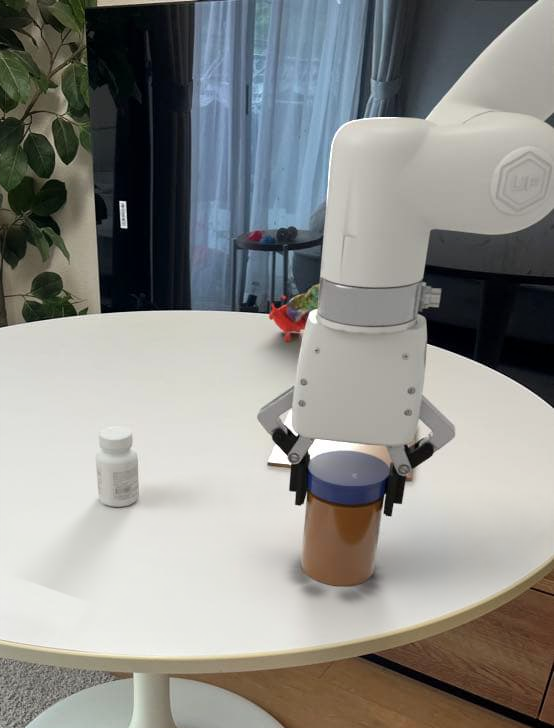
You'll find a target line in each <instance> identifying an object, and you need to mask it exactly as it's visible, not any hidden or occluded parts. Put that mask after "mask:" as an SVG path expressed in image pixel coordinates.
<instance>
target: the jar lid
mask: <svg viewBox="0 0 554 728" xmlns="http://www.w3.org/2000/svg"><path fill="white" fill-rule="evenodd" d="M389 470H390V469H389V467H388V465H387V464H386V463H385V462H384V461H383V460H381V459H379V458H377V457H375V456H373V455H370V454H366V453H362V452H357V451H347V450H339V451H329V452H324V453H321V454H318V455H316V456H314V457H313V458H311V459H310V460H309V463H308V466H307V473H306V484H305V485H306V486H307V488H308V489H309V490H310V491H311V492H312V493H313V494H314V495H316V496H318V497H320V498H322V499H325V500H328V501H331V502H336V503H342V504H363V503H369V502H373V501H376V500H378V499H380V498H381V497H383V496H384V497H385V496H386V492H387V485H388V478H389Z"/></svg>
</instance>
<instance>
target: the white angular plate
mask: <svg viewBox="0 0 554 728" xmlns="http://www.w3.org/2000/svg"><path fill="white" fill-rule="evenodd" d="M291 416H292V409H289V410H288V413H287V416H286V418H285V420H284V422H283V424H285V425H286V426H287V427H288V428H289V429H290V430H291V431H292V432H293V433H294V434H295V435H296V436H297V435H298V434H297V433H296V432H294V431H293V429H292V423H291ZM415 443H416V436H415V437H414V439H413V441H412V442H410V443H408V445H409V447H410V446H412V445H413V444H415ZM339 450H347V451H357V452H362V453H366V454H370V455H373V456H375V457H377V458H379V459H381V460H383V461H384V462H385V463H386V464H387V465H388V467H389V469H390V462H391V463H393V461H392V459H391V457H390V454H389V452H388V449H387V447H386V446H379V445H368V444H357V443H347V442H337V441H328V440H318V439H316V440H315V441H314V443H313V444H312V445H311V447H310V448H309V450H308V451H309V454H311V456H310V459H311V458H313V457H314V456H316V455H318V454H321V453H324V452H329V451H339ZM266 463H267V466H272V467H273V466H274V467H282V468H290V469H291V463H290V462H289V461H288V459H287V455H286V454H285V453H284V452H283V451H282V450H281V449H280V448H279V447H278V446H277V445H276V444H274V445H273V448H272V450H271V452H270V456H269V457H268V460H267V462H266ZM412 480H413V469H412V470H411V472H410V474H409V475H407V476H406V482H412Z"/></svg>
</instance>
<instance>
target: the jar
mask: <svg viewBox="0 0 554 728" xmlns="http://www.w3.org/2000/svg"><path fill="white" fill-rule="evenodd" d="M305 500H306V501H305V513H304V524H303V534H302V535H303V536H302V548H301V549H302V550H301V559H300V560H301V561H300V565H301V568H302V570H303V572H304V573H305V574H306V575H307V576H308V577H310V578H311V579H313V580H315V581H317V582H320V583H323V584H326V585H330V586H337V587H338V586H340V587H347V586H354V585H359V584H361V583H364V582H366V581H367V580H369V579H370V578H371V576H373V573H374V571H375V563H376V557H377V549H378V543H379V537H380V529H381V521H382V515H383V510H384V503H385V495H384V496H383V497H381V498H380V499H378V500H376V501H373V502H369V503H363V504H342V503H336V502H331V501H328V500H325V499H322V498H320V497H318V496H316V495H314V494H313V493H312V492H311V491H310V490H309V489H308V488H307V494H306V498H305Z"/></svg>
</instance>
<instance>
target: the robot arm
mask: <svg viewBox="0 0 554 728" xmlns="http://www.w3.org/2000/svg"><path fill="white" fill-rule="evenodd" d="M479 54H480V55H478V56H477V58H476V59H475V60H473V62H472V63H471V64H470V66H469V67H467V69H466V70H465V71H464V72H463V74H462V75H461V76H460V77H459V78H458V80H456V82H455V83H454V84H453V85H452V86H451V88H450V89H449V90H448V91H447V92H446V94H445V95H444V96H443V97H442V98H441V100H440V101H439V102H438V103H437V104H436V106H435V107H433V109H432V110H431V112H430V113H429V114H428V115H427V117H426V118H425V119H424V118H418V117H401V116H400V117H389V116H388V117H368V118H367V117H366V118H360V119H355V120H351V121H348V122H346V123H343V125H342V126H340V127H339V128H338V130H336V132H335V134H334V136H333V139H332V143H331V148H330V157H329V168H328V180H327V192H326V202H325V203H326V204H325V214H324V215H325V216H324V225H323V227H324V228H323V239H322V250H321V251H322V252H321V262H320V275H319V283H318V284H319V295H318V307H317V309H316V310H313V311H311V312H310V313H309V316H308V319H307V322H306V326H305V330H304V329H303V334H302V338H301V339H302V340H301V343H300V349H299V355H298V360H297V366H296V371H295V372H296V373H295V378H294V379H295V381H294V385H293V386H291V387H290V388H289V389H287V390H285V391H284V392H282V393H280V394H279V395H278V396H277V397H275V398H274V399H272V400H271V401H268V403H266V404H265V405H264V406H262V407H261V408H260V409H259V411H258V413H257V415H256V419H257V421H258V422H259V424H260V425H261V426H262V427H263V429H264V430H265V431H266V433H267V434H269V435H270V436H271V440H272V441H273V443H275V444H276V445H277V446H278V447H279V448H280V449H281V450H282V451H283V452H284V453H285V454H286V455H287V459H288V461H289V462H290V463H291V468H290V470H289V471H290V473H289V484H288V491H289V492H292V493H294V492H295V499H294V505H295V506H299V507H301V506H302V505H304V504H305V502H306V501H305V500H306V498H307V486H306V485H305V484H306V473H307V466H308V463H309V460H310V456H311V454H309V451H308V450H309V448H310V447H311V445H312V444H313V443H314V441H315V440H316V439H318V440H328V441H337V442H347V443H357V444H368V445H379V446H386V447H387V449H388V452H389V454H390V457H391V459H392V461H393V463H391V462H390V470H389V478H388V485H387V492H386V494H385V495H384V502H383V511H382V515H385V517H393V511H394V504H397V505H402V504H403V501H404V495H405V488H406V482H407V481H406V476H407V475H409V474H410V472H411V470H412V471H413V469H415V468H417V467H418V466H420V465H421V464H423V463H425V462H426V461H427V460H429V459H430V458H432V457H433V455H434V453H436V452H437V451H439V450H440V449H442V448H443V447H444V446H445V445H447V444H448V443H450V442H451V441H452V440H453V439H454V438H455V437H456V425H454V424H453V422H452V421H450V420H449V419H448V418H447V417H446V416H445V414H443V412H441V411H440V410H439V409H438V408H437V407H436V406H435V405H434V404H433V403H432V402H431V401H429V399H428V398H427V397H426V396H424V395H423V392H424V385H425V374H426V366H427V365H426V364H427V347H428V329H427V319H426V317H425V316H423V315H422V314H419V312H421V313H422V312H423V309H429V308H430V307H432V308H439V307H440V302H441V296H442V288H434V287H432V286H430V285H427V282H424V281H423V279H424V274H425V267H426V261H427V255H428V248H429V242H430V236H431V231H432V230H443V231H451V232H452V231H453V232H460V233H461V232H462V233H468V234H469V233H470V234H478V235H479V234H480V235H489V236H491V235H492V236H494V235H495V236H497V235H506V234H512V233H515V232H520V231H522V230H524V229H527V228H529V227H531V226H532V225H534V224H535V225H536V224H537V223H538V222H539V221H541V220H543V219H544V218H545V217H546V216H548V215H549V213H550V212H551V211H553V210H554V127H553V126H552V125H550V124H549V123H548V122H546V120H547V119H549V117H551V116H552V115H553V114H554V0H537V1H536V2H535V3H534V4H533V5H531V6H530V7H528V9H526V10H525V11H524V12H523V13H522V14H521V15H520V16H518V17H517V18H516V19H515V20H514V21H513V22H512V23H511V24H510V25H509V26H508V27H506V28H505V29H504V30H503V31H502V32H501V33H500V34H499V35H497V37H496V38H495V39H493V41H492V42H491V43H489V45H488V46H486V48H485V49H484V50H483V51H482V52H481V53H479ZM290 410H292V416H291V423H292V429H293V431H294V432H296V433H297V434H298V435H297V436H296V435H295V434H294V433H293V432H292V431H291V430H290V429H289V428H288V427H287V426H286V425H285V424H284V422H283V420H282V419H281V418H280V416H282V415H283V414H284V413H287V411H288V412H289V411H290ZM419 420H420V421H421V422H422V423H423V424H424V425H425V426H426V427H428V429H429V430H431V431H430V432H429V433H428V434H427V436H425V437H422V438H420V439H419V440H418V441H415V444H413V445H412V446H410V447H409V445H408V443H410V442H412V441H413V439H414V437H415V438H416V434H417V431H418V430H417V429H418V425H419ZM275 444H274V445H275Z"/></svg>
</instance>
